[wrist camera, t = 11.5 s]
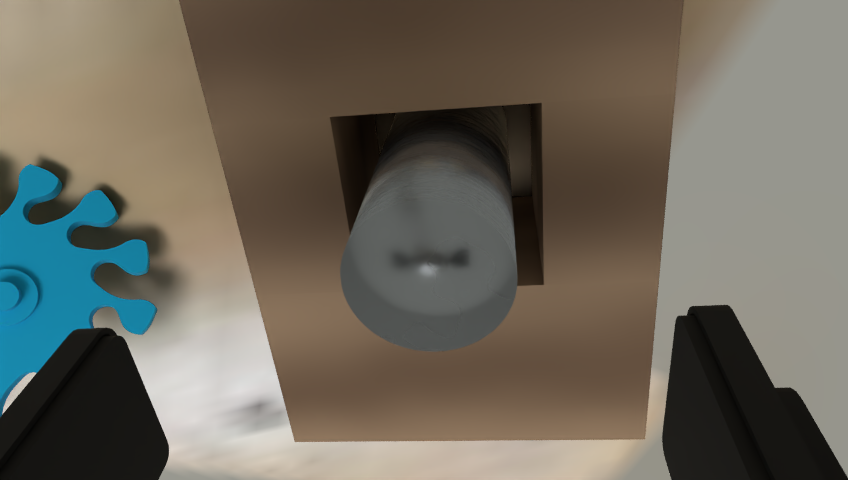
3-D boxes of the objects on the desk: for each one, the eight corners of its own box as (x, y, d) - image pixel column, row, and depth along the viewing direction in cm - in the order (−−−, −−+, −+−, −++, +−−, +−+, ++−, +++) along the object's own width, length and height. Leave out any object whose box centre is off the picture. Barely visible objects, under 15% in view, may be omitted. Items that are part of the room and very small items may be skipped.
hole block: (231, -141, 20) (141, -143, 15) (642, -190, 19) (701, -209, 13) (329, 337, 29) (295, 441, 24) (615, 329, 27) (644, 439, 22)
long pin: (387, 78, 23) (326, 206, 14) (504, 69, 22) (514, 196, 14) (401, 184, 25) (354, 353, 16) (508, 178, 24) (520, 349, 16)
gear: (212, 278, 26) (9, 504, 22) (211, 292, 31) (47, 475, 28) (-28, 84, 24) (-284, 296, 21) (14, 135, 30) (-182, 309, 27)
